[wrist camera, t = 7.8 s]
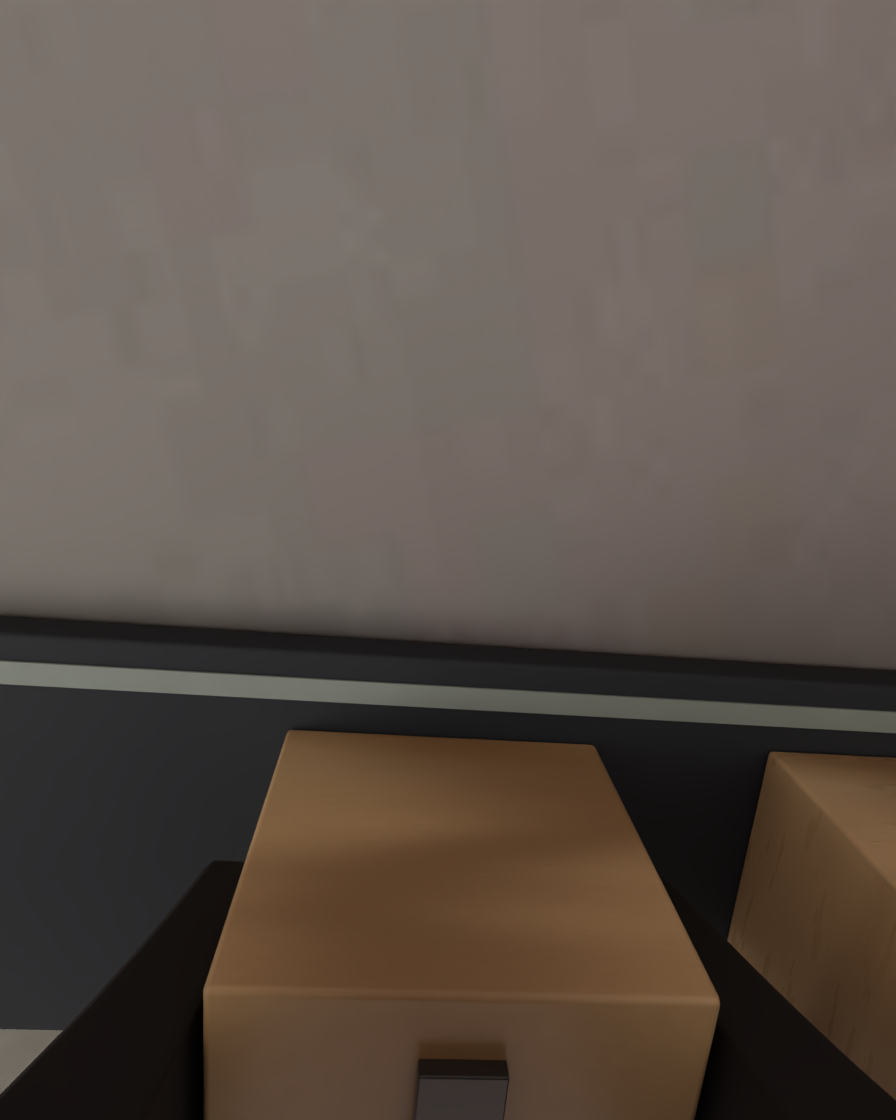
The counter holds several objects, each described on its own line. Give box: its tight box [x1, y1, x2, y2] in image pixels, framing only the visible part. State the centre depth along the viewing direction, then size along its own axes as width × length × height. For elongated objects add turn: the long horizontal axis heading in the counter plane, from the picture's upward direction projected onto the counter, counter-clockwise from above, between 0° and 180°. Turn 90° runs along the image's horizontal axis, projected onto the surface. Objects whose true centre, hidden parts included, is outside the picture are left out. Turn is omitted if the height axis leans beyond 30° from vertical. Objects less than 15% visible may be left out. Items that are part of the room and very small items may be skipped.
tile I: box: [203, 730, 720, 1120], centre depth 8 cm, size 4×4×4 cm
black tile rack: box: [0, 617, 896, 1030], centre depth 10 cm, size 17×6×1 cm, turn 85°
